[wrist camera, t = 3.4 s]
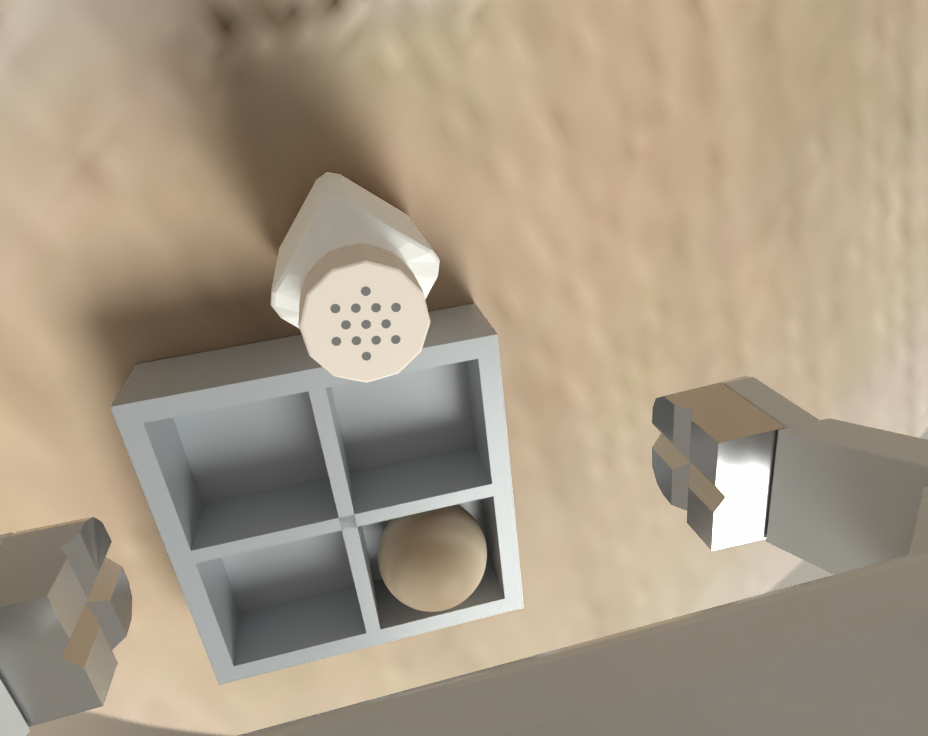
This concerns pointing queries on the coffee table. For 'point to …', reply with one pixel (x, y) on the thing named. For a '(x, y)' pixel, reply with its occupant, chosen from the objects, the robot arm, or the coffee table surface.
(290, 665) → the grey compartment tray
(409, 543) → the brown ball
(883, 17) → the coffee table surface
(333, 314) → the pepper shaker
